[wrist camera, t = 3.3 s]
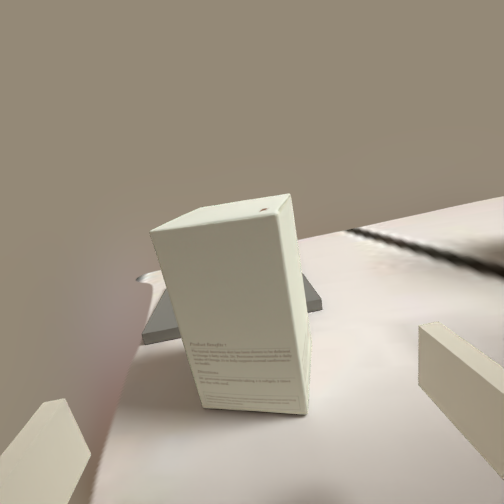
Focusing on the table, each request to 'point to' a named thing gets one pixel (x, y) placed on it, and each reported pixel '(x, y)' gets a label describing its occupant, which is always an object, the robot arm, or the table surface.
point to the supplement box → (240, 303)
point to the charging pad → (167, 328)
